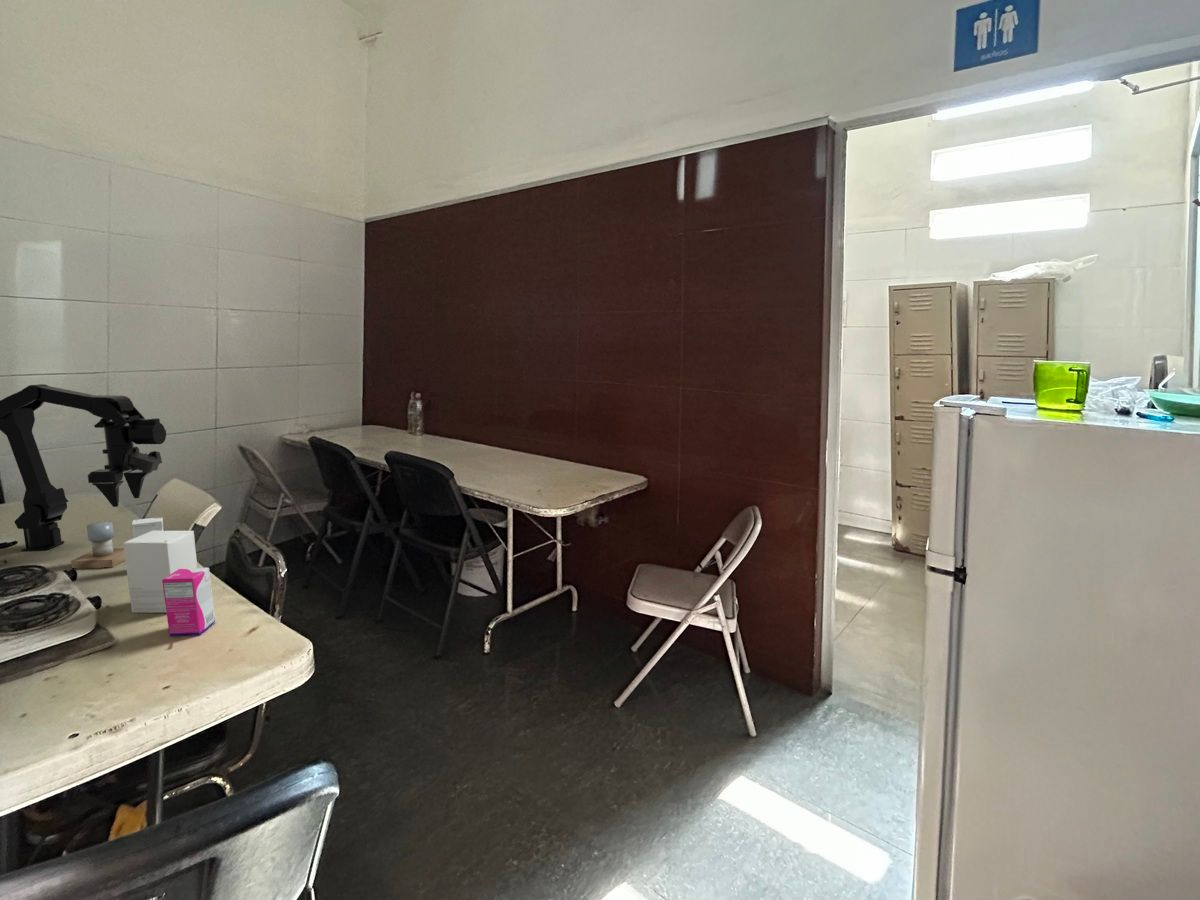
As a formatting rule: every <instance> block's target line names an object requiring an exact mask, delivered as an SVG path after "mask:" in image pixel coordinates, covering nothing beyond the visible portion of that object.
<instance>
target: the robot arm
mask: <svg viewBox="0 0 1200 900" xmlns="http://www.w3.org/2000/svg"><path fill="white" fill-rule="evenodd" d="M44 403H48V404H53V405H59V406H63V407H69V408H74V409H78V410H83V411H85V412H88V413H89V414H91V415H93V416H95V417H98V418H100V419H99V421H98V422H97V423H96V424H94V425H93V427H94V428H95V429H99V428H100V429H101V428H102V429H103V430H104V431H103V432H104V439H105V447H106V448H105V449H102V454H105V455H106V457H107V464H104V468H102V469H101V468H100V469H97V470H96V469H95V470H93V471H91V472H89V473H88V474H87V482H88V484H92V486H95V487H96V488H97V489H98V490H99V492H100V493H101V494H102V495H103V496H104V497H105V499H107V501H108V502H109V504H110V505H111V506H112V507H113V508H117V507H119V503H120V500H119V499H120V486H121V485H122V484H124V482H125V481H126V483H127V486H128V488H129V489H130V492H131V496H132V497H133V498H134V499H139V498H140V496H141V492H142V488H143V485H144V481H145V479H146V477H147V476H149V474H151V473H152V472H154V471H158V469H159V466H160V465H161V464H163V460H162V456H161V452H159V451H156V450H153V451H151V452H149V453H147V452H146V453H142V452H141V451H140V448H139V447H138V446H134V444H135V445H162V444H163V443H165V441H166V438H167V429H165V426H164V425H163V424H162V423H161V419H160V418H156V417H154V418H145V417H144V416H143V414H142V413H141V412H140V411H139V410H138V409H137V408H136V406H135V405H134V403H133V401H132V400H131V399H130V398H129V397H128V396H125V395H113V394H112V395H111V394H109V395H108V394H107V395H105V394H103V395H102V394H101V395H100V394H99V395H97V394H89V393H86V392H80V391H75V390H70V389H66V388H65V389H64V388H61V387H56V386H55V387H54V386H50V385H47V384H44V383H43V384H42V383H41V384H30V385H28V386H26V387H24V388H23V389H22V390H19V391H17V392H15V393H12V394H11V395H8V396H6V397H4V398H3V399H0V431H1V432H2V433H3V434H4V435H5V436H6V438H7V440H8V443H9V445H10V448H11V451H12V454H13V458H14V460H15V462H16V464H17V465H16V466H17V468H18V470H19V473H20V476H21V479H22V482H23V484H24V487H25V491H24V496H23V500H22V504H23V512H22V513H21V514H20V515H19V516H18V517H17V518H16V519H15V520H14V525H15V526H16V528H17V529H18V530H22V531H23V538H24V543H25V544H24V545H25V547H21V548H20V550H21V551H46V550H47V551H48V550H51V549H53V548H55V547H57V546H60V545H62V544H64V543H65V540H62V535H61V528H60V527H59V526H58V522H59V521H62V519H63V515H64V513H65V512H66V510H67V508H68V504H67V503H69V502H70V501H69V500H68V499H67V497H66V494H65V490H64V488H63V487H59V488H57V487H55V486H54V485H53V484H52V483H51V482H50V479H49V476H48V473H47V470H46V468H45V465H44V462H43V459H42V456H41V454H40V450H39V448H38V445H37V442H36V440H35V436H34V434H33V428H34V424H35V422H36V418H35V411H37V410H38V409H40V408H42V406H43V405H44ZM123 478H124V479H125V480H123Z"/></svg>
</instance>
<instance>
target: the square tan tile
mask: <svg viewBox="0 0 1200 900" xmlns="http://www.w3.org/2000/svg"><path fill="white" fill-rule="evenodd" d="M90 542H91V548H92V550H90V551H88V552H87V553H84V554H82V555H81V556H78V557H76V558H74V559H72V560H70V563H71V569H72V568H76V569H75V570H77V569H78V570H79V569H81V570H82V569H105V568H104V567H113V568H114V566H115V567H116V565H117V566H119V565H120V564H122V563H124V562H126V561H125V553H124V547H122V548H119V547H117V548H114V544H113V538H111V539H108V540H103V541H90ZM123 561H124V562H123ZM121 562H122V563H121ZM119 563H120V564H119ZM102 567H103V568H102Z"/></svg>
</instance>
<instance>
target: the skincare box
mask: <svg viewBox="0 0 1200 900" xmlns="http://www.w3.org/2000/svg"><path fill="white" fill-rule="evenodd" d="M163 518H164V517H162V516H161V517H150V518H141V519H132V521H131V522H132V523H131V531H132V539H134V538H136V537H139V536H141V535H143V534H146V533H148V532H150V531H153V530H154V531H164V521H163Z"/></svg>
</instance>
